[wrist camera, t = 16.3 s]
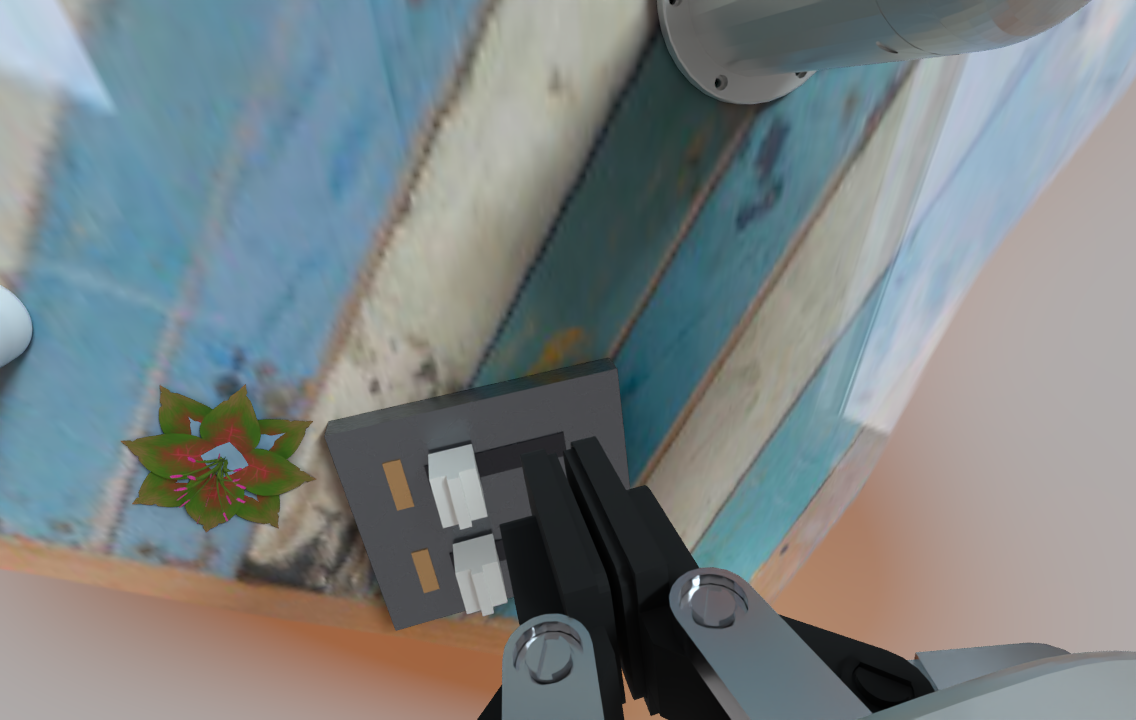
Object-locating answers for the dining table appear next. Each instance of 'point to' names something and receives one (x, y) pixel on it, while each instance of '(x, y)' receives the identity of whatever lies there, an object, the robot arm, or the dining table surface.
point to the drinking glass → (13, 327)
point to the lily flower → (218, 460)
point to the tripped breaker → (479, 574)
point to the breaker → (457, 486)
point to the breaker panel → (498, 436)
